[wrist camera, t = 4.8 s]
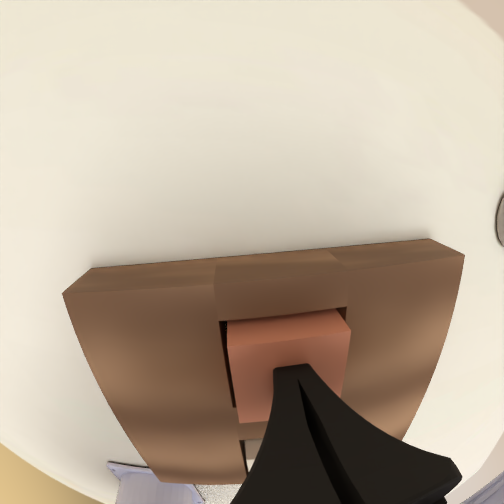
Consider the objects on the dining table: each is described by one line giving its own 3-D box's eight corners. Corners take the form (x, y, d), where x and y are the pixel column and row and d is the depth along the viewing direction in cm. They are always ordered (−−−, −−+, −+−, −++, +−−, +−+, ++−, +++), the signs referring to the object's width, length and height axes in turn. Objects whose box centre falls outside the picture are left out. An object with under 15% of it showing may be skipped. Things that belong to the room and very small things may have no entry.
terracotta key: (318, 363, 14) (337, 408, 11) (236, 373, 14) (239, 423, 10) (323, 290, 13) (351, 330, 9) (227, 300, 12) (227, 346, 9)
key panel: (383, 425, 18) (396, 450, 15) (165, 453, 17) (160, 482, 14) (429, 238, 13) (464, 254, 10) (90, 268, 12) (61, 293, 9)
